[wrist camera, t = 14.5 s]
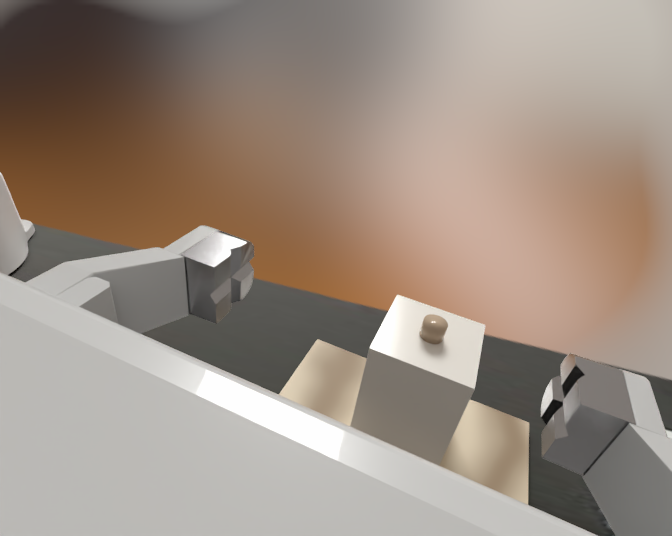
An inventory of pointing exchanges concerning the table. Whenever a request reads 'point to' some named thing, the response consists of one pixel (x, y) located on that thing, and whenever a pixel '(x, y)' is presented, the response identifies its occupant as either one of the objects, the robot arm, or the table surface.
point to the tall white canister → (418, 378)
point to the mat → (469, 437)
